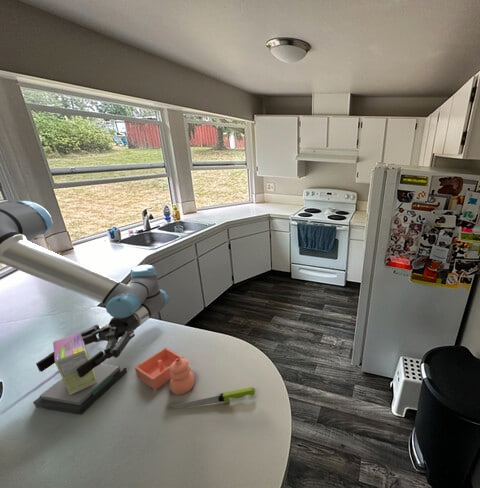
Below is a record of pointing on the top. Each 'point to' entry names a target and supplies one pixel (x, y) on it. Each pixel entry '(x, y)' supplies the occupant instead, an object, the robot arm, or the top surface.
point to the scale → (84, 398)
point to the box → (73, 362)
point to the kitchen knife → (217, 398)
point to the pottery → (166, 371)
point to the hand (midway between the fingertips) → (58, 370)
